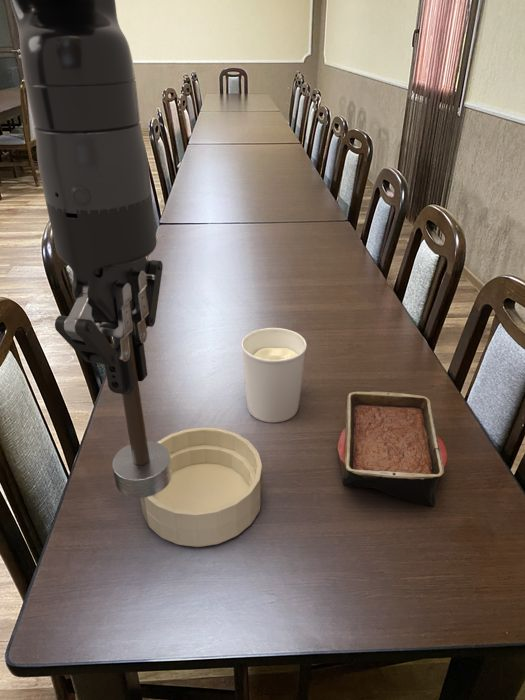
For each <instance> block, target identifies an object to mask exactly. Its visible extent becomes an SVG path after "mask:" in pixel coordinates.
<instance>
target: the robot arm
mask: <svg viewBox="0 0 525 700" xmlns="http://www.w3.org/2000/svg"><path fill="white" fill-rule="evenodd" d="M9 1H10V5H11V8H12V13H13V15H14V16H13V17H14V19H15V22H16V23H15V24H16V26H17V30H18V36H19V50H20V59H21V67H22V74H23V80H24V85H25V89H26V94H27V99H28V104H29V109H30V114H31V118H32V123H33V124H32V125H33V126H34V128H33V129H34V134H35V135H34V136H35V143H36V144H35V145H36V159H37V165H38V172H39V176H40V180H41V185H42V190H43V195H44V199H45V204H46V209H47V215H48V219H49V224H50V229H51V233H52V237H53V238H52V239H53V243H54V247H55V252H56V255H57V256H58V257H59V259H61V261H63V262H64V263H65V264H66V265H67V266H68V267H69V268H70V269H71V271H72V288H71V292H72V297H73V299H74V300H75V301H74V304H73V306H72V308H71V310H70V312H69V314H68V316H65V315H58V316H57V317H56V319H55V321H54V328H55V331H56V332H57V333H58V334H59V335H60V336H61V337H62V338H63V339H64V340H65V341H66V343H68V345H69V346H70V347H71V348H72V349H73V350H74V351H75V352H76V353H77V355H78V356H79V357H81V358H82V359H83V361H84V362H86V363H91V364H92V363H95V364H100V365H104V370H105V374H106V381H107V387H108V389H109V390H110V391H111V392H112V393H115V394H119V395H122V394H124V395H131V394H132V393H133V392H134V391H135V389H136V384H135V378H134V371H133V364H132V358H131V356H130V347H129V339H128V334H129V333H130V334H131V335H132V341H133V348H134V355H135V362H136V369H137V376H138V382H143V381H144V380H145V379H146V378H147V376H148V368H147V359H146V352H145V345H144V343H145V342H146V341H147V340H148V339H147V338H148V330H147V329H148V327H150V328H152V327H154V326H155V323H156V317H157V311H158V306H159V305H158V304H159V296H160V289H161V282H162V275H163V265H164V264H163V261H162V260H157V259H149V258H148V259H147V257H148V256H150V255H151V254H152V253H153V252H154V251H155V250H156V247H157V243H158V241H157V240H158V239H157V232H156V223H155V214H154V204H153V195H152V187H151V186H152V185H151V176H150V175H151V174H150V167H149V160H148V159H149V158H148V153H147V148H146V144H145V140H144V135H143V131H142V125H141V116H140V108H139V99H138V90H137V82H136V74H135V66H134V60H133V55H132V51H131V47H130V44H129V41H128V40H127V37H126V35H125V34H124V33H123V31H122V29H121V26H120V24H119V20H118V15H117V4H116V0H9ZM109 337H111V338H113V337H114V338H115V340H116V345H114V344H112V343H110V341H109Z"/></svg>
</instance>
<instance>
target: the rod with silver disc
mask: <svg viewBox="0 0 525 700" xmlns="http://www.w3.org/2000/svg"><path fill="white" fill-rule="evenodd" d="M128 339H129V347H130V356H131V358H132V364H133V371H134V378H135V384H136V389H135V391H134V392H133V393H132V394H131V395H124V394H121V397H122V403H123V410H124V415H125V422H126V427H127V433H128V439H129V444H127V445H125V446H124V447H122V448H121V449H119V450H118V452H117V453H115V455H114V456H113V459H112V463H111V466H112V471H113V477H114V482H115V486H116V488H117V490H118V491H119V493H121V494H123V495H124V496H126V497H129V498H134V499H140V498H144V497H149V496H152V495H155V494H157V493H159V492H161V491H162V490H163V489H164V488H166V486H167V485H168V484H169V482H170V480H171V478H172V469H171V460H170V454H169V451H168V450H167V448H166V447H165V446H163V445H162V444H160V443H157V442H158V441H152V440H148V439H147V431H146V424H145V417H144V409H143V404H142V398H141V390H140V381H138V376H137V369H136V362H135V355H134V348H133V341H132V335H131V334H130V333H129V334H128ZM112 343H113V345H116V340H115V338H114V337H112Z"/></svg>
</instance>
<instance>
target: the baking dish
mask: <svg viewBox="0 0 525 700" xmlns="http://www.w3.org/2000/svg"><path fill="white" fill-rule="evenodd" d="M345 399H346V400H345V427H344V428H343V430H342V432H341V433H340V434H339V439H338V442H337V447H336V448H337V453H338V459H339V460H338V461H339V467H340V471H341V479H342V486H343V487H355V488H367V489H369V488H370V489H375V490H378V491H380V492H383V493H385V494H388V495H390V496H393V497H396V498H398V499H401V500H403V501H405V502H408V503H412V504H416V505H422V506H427V507H431V508H435V504H436V490H437V486H438V483H439V480H440V478H441V476H442V475H443V474H445V469H446V467H447V463H448V452H447V449H446V446H445V444H444V442H443V440H442V439H441V438H440V437H439V435H438V434H437V429H436V424H435V417H434V414H433V413H434V412H433V408H432V404H431V400H430V399H429V398H428V397H427V396H424V395H419V394H415V393H414V394H413V393H403V392H392V391H373V390H372V391H371V390H368V391H367V390H366V391H363V390H362V391H359V390H358V391H351V392H349V393H348V394H347V396H346V398H345Z"/></svg>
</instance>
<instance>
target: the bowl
mask: <svg viewBox="0 0 525 700" xmlns="http://www.w3.org/2000/svg"><path fill="white" fill-rule="evenodd" d="M156 442H157V443H160V444H162V445H163V446H165V447H166V448H167V450H168V451H169V454H170V460H171V469H172V478H171V480H170V482H169V484H168V485H167V486H166V488H164V489H163V490H162V491H161V492H159V493H157V494H155V495H152V496H149V497H144V498H139V499H140V505H141V512H142V515H143V518H144V519H145V522H146V523H147V527H149V528H150V529H151V530H152V531H153V532H154V533H156V535H158V536H159V537H160V538H161V539H164V540H166V541H168V542H171V543H173V544H174V545H179V546H185V547H195V548H199V547H207V546H213V545H219V544H221V543H224V542H226V541H229V540H231V539H233V538H235V537H237V536H239V535H240V534H241V533H242V532H244V531H245V530H246V529H247V528H248V527H249V526H251V525H252V524H253V522H254V520H255V519H256V517H257V515H258V514H259V513H260V510H261V504H262V497H263V463H262V460H261V457H260V452H259V451H258V450H257V449H256V447H255V446H254V445H253V444H252V443H251V441H249V440H248V439H247V438H245V437H244V436H241V435H240V434H239V433H237V432H233V431H230V430H227V429H224V428H219V427H207V426H202V427H193V428H192V427H191V428H186V429H183V430H180V431H176V432H174V433H170V434H168V435H166V436H165V437H163V438H162V439H160V440H158V441H156Z"/></svg>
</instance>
